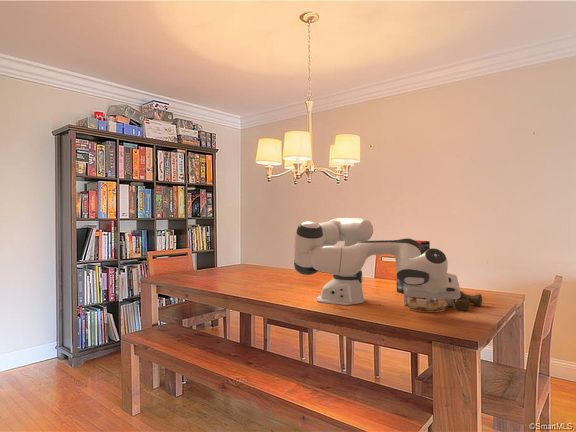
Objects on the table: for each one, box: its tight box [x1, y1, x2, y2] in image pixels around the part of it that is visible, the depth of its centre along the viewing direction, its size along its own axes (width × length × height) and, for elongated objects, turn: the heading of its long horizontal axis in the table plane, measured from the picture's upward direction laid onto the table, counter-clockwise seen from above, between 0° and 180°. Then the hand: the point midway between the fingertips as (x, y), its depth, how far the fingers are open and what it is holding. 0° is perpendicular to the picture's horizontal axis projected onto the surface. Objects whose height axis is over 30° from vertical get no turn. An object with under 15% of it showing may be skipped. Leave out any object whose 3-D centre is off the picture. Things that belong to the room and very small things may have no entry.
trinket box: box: [406, 297, 448, 313], centre depth 157 cm, size 13×15×8 cm
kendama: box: [455, 290, 483, 313], centre depth 161 cm, size 6×10×20 cm
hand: (431, 300), depth 151 cm, fingers closed
